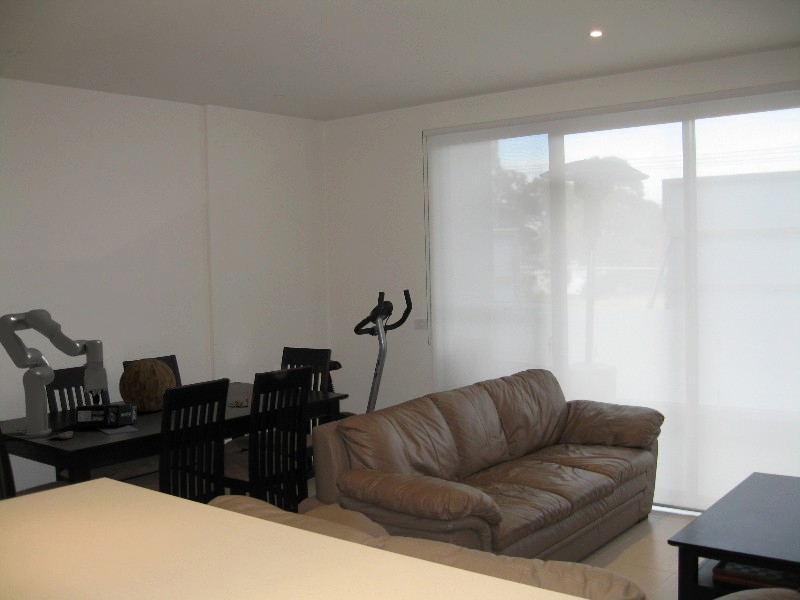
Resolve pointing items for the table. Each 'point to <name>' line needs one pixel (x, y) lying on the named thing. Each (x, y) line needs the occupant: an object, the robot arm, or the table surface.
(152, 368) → the decorative sphere
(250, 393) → the dollhouse furniture set
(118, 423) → the box
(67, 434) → the ceramic fragment
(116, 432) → the mat
